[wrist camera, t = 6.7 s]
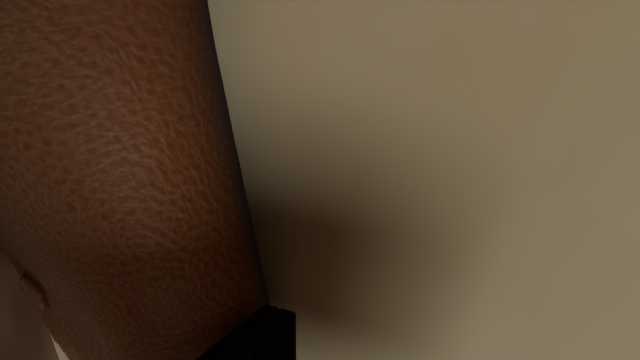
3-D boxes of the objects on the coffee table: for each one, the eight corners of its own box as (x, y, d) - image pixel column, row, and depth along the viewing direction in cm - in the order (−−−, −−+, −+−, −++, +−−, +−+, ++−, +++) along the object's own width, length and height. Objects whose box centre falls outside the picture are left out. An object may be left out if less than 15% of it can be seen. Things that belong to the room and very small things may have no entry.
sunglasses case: (-117, -77, 9) (-681, -250, 3) (180, -96, 11) (161, -238, 5) (129, 400, 17) (93, 606, 11) (281, 349, 18) (322, 505, 12)
